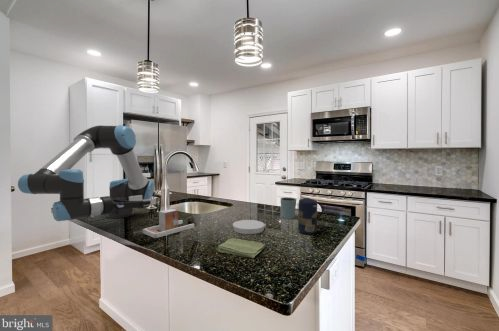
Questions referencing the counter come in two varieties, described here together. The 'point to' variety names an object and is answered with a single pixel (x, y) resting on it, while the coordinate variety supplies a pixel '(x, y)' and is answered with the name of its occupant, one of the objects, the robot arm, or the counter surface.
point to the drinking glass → (288, 208)
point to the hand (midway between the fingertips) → (148, 199)
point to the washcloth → (240, 247)
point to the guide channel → (167, 232)
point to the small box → (168, 219)
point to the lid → (248, 226)
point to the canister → (307, 216)
